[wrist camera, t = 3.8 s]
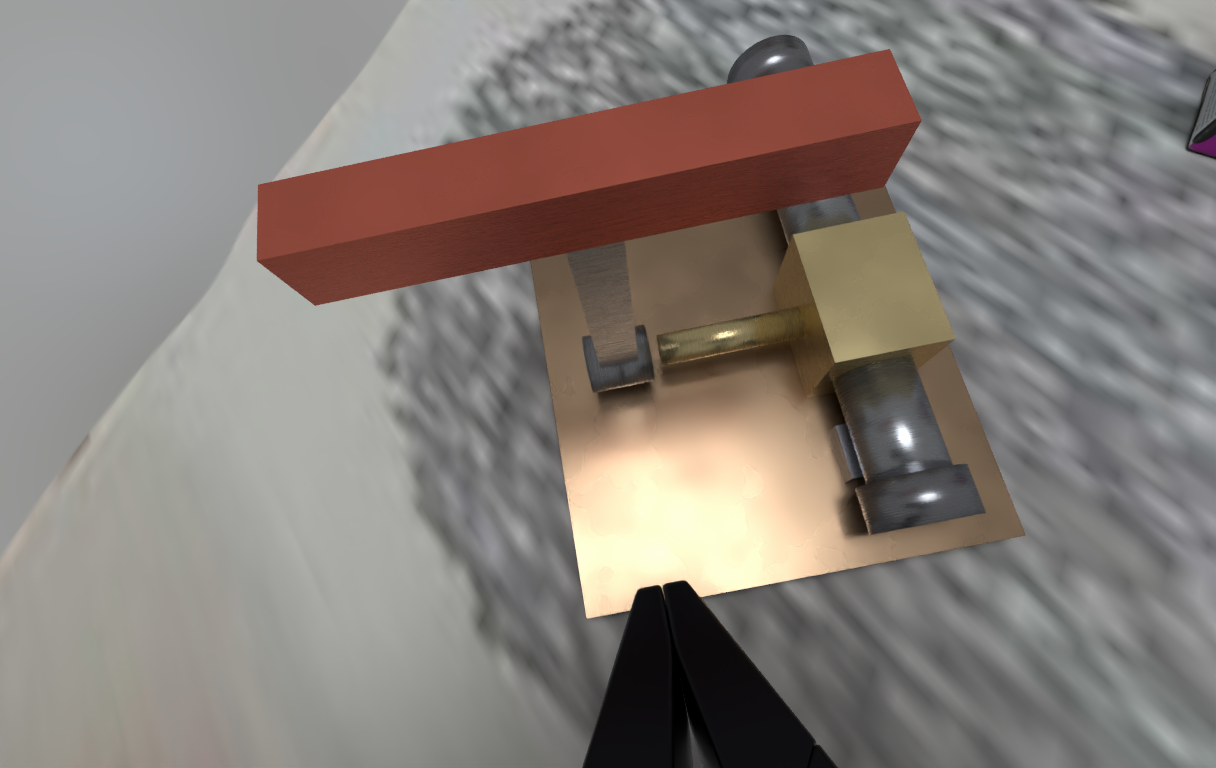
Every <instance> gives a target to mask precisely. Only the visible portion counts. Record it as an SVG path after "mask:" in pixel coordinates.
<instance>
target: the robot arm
mask: <svg viewBox="0 0 1216 768" xmlns="http://www.w3.org/2000/svg"><path fill="white" fill-rule="evenodd" d="M662 588H663V590H662ZM663 594H664V595H663ZM664 599H665V600H664ZM665 604H666V605H665ZM679 674H680V675H679ZM680 679H681V680H680ZM681 684H682V685H681ZM682 689H683V690H682ZM683 694H684V695H683ZM684 699H685V700H684ZM685 703H686V705H685ZM686 708H687V710H686ZM687 713H688V716H687ZM688 717H689V721H690V725H691V729H692V732H693V736H694V739H695V742H696V745H697V748H698V752H699V755H700V758H701V761H702V764H703V767H704V768H838V767H837V766H836V765H835V764H834V762H833V761H832V760H831V759H830V757H829V756H828V755H827V754H826V752H825V751H824V750H823V749H822V747H821V746H820V745H816V741H815V739H814V738H813V737H812V735H811V734H810V733H809V732H808V730H807V729H806V728H805V727H804V725H803V724H802V723H801V722H800V720H799V719H798V718H797V717H796V716H795V714H794V713H793V712H792V711H791V709H790V708H789V707H788V706H787V704H786V703H785V702H784V701H783V699H782V698H781V697H780V696H779V694H778V693H777V692H776V691H775V689H774V688H773V687H772V686H771V685H770V683H769V682H768V681H767V680H766V678H765V677H764V676H763V675H762V673H761V672H760V671H759V670H758V668H757V667H756V666H755V665H754V663H753V662H752V661H751V660H750V658H749V657H748V656H747V655H746V653H745V652H744V651H743V650H742V649H741V647H740V646H739V645H738V644H737V642H736V641H735V640H734V639H733V637H732V636H731V635H730V634H729V632H728V631H727V630H726V629H725V627H724V626H723V625H722V624H721V622H720V621H719V620H718V619H717V618H716V616H715V615H714V614H713V613H712V611H711V610H710V609H709V608H708V606H707V605H706V604H705V603H704V601H703V600H702V599H701V598H700V596H699V595H698V594H697V593H696V591H695V590H694V589H693V588H692V587H691V585H690V584H689V583H688V582H687V581H685V580H680V581H675V582H670V583H665V584H664V585H663V587H661V586H659V585H654V586H649V587H644V588H640V589H638V590H637V592H636V594H635V597H634V600H633V604H632V607H631V610H630V613H629V617H628V620H627V623H626V626H625V630H624V633H623V636H622V640H621V643H620V646H619V649H618V653H617V656H616V659H615V662H614V666H613V669H612V672H611V675H610V679H609V682H608V685H607V688H606V692H605V695H604V698H603V701H602V705H601V708H600V711H599V714H598V718H597V721H596V724H595V727H594V731H593V734H592V737H591V741H590V744H589V747H588V750H587V754H586V757H585V760H584V763H583V767H582V768H693V764H692V752H691V740H690V731H689V722H688Z"/></svg>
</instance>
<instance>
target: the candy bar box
mask: <svg viewBox="0 0 1216 768" xmlns="http://www.w3.org/2000/svg"><path fill="white" fill-rule="evenodd" d="M1189 148H1190V149H1192V150H1193V151H1195V152H1199V153H1202V154H1206V155H1209V156H1213V157H1216V70H1215V71H1214V72H1213V73H1212V74H1211V75H1210V77H1209V80H1208V82H1207V85H1206V88H1205V90H1204V94H1203V98H1202V104H1201V109H1200V112H1199V115H1198V118H1197V120H1196V123H1195V126H1194V129H1193V132H1192V136H1191V140H1190V143H1189Z"/></svg>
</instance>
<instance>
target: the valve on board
mask: <svg viewBox="0 0 1216 768" xmlns="http://www.w3.org/2000/svg"><path fill="white" fill-rule="evenodd" d="M809 66H814V64H813V62H812V59H811V57H810V54H809V51H808V49H807V46H806V45H805V43H804V42H803V41H802V40H801V39H799V38H797V37H795V36H791V35H778V36H773V37H769V38H766V39H764V40H762V41H760V42H758V43H756V44H754V45H753V46H751V47H750V48H748V49H747V50H746V51H745V52H744V53H743V54H742V55H741V56H740V57H739V58H738V59H737V60H736V61H735V63H734V64H733V66H732V68H731V70H730V72H729V75H728V79H727V84H730V83H734V82H739V81H744V80H748V79H753V78H758V77H762V76H767V75H772V74H776V73H781V72H786V71H790V70H795V69H800V68H804V67H809ZM625 248H626V256H627V265H628V274H629V282H630V291H631V300H632V308H633V317H634V326H638V325H643V324H644V326H645V329H646V333H647V337H648V341H649V346H650V351H651V356H652V361H653V367H654V373H655V381H651V382H646V383H641V384H636V385H631V386H626V387H621V388H616V389H611V390H606V391H601V392H596V393H593V391H592V388H591V384H590V380H589V376H588V371H587V366H586V361H585V356H584V350H583V344H582V337H584V336H589V335H591V334H590V331H589V328H588V324H587V321H586V318H585V314H584V311H583V308H582V304H581V301H580V298H579V295H578V291H577V288H576V285H575V281H574V278H573V275H572V271H571V268H570V265H569V262H568V258H567V255H566V253H565V254H560V255H556V256H551V257H546V258H541V259H536V260H532V261H531V267H532V273H533V280H534V286H535V292H536V299H537V305H538V312H539V318H540V324H541V331H542V337H543V343H544V350H545V356H546V363H547V369H548V375H549V382H550V388H551V394H552V401H553V407H554V414H555V420H556V426H557V433H558V439H559V445H560V452H561V458H562V465H563V471H564V477H565V484H566V490H567V496H568V503H569V509H570V516H571V522H572V528H573V535H574V541H575V547H576V554H577V560H578V567H579V573H580V579H581V586H582V592H583V598H584V605H585V611H586V618H587V619H588V618H593V617H598V616H603V615H609V614H614V613H619V612H624V611H630V610H631V607H632V604H633V600H634V597H635V594H636V592H637V590H638V589H640V588H644V587H649V586H654V585H659V586H661V587H663V585H664V584H665V583H670V582H675V581H680V580H685V581H687V582H688V583H689V584H690V585H691V587H692V588H693V589H694V590H695V591H696V593H697V594H698V595H699V596H700V597H704V596H709V595H714V594H719V593H725V592H730V591H735V590H740V589H746V588H751V587H756V586H762V585H767V584H772V583H777V582H783V581H788V580H793V579H798V578H804V577H809V576H814V575H820V574H825V573H830V572H835V571H841V570H846V569H851V568H856V567H862V566H867V565H872V564H877V563H883V562H888V561H893V560H899V559H904V558H909V557H914V556H920V555H925V554H930V553H935V552H941V551H946V550H951V549H957V548H962V547H967V546H972V545H978V544H983V543H988V542H993V541H999V540H1004V539H1009V538H1015V537H1020V536H1025V532H1024V530H1023V527H1022V525H1021V522H1020V520H1019V518H1018V515H1017V513H1016V510H1015V508H1014V505H1013V503H1012V500H1011V498H1010V495H1009V493H1008V490H1007V488H1006V485H1005V483H1004V480H1003V478H1002V475H1001V473H1000V470H999V468H998V465H997V463H996V460H995V458H994V455H993V453H992V450H991V448H990V445H989V443H988V440H987V438H986V435H985V433H984V430H983V428H982V425H981V423H980V420H979V418H978V416H977V413H976V411H975V408H974V406H973V403H972V401H971V398H970V396H969V393H968V391H967V388H966V386H965V383H964V381H963V378H962V376H961V373H960V371H959V368H958V366H957V363H956V361H955V358H954V356H953V353H952V351H951V348H950V346H949V344H950V343H951V342H952V341H954V340H955V339H956V338H955V335H954V333H953V330H952V328H951V325H950V323H949V321H948V318H947V316H946V313H945V311H944V308H943V306H942V303H941V301H940V298H939V296H938V294H937V291H936V289H935V286H934V284H933V281H932V279H931V276H930V274H929V271H928V269H927V267H926V264H925V262H924V259H923V257H922V254H921V252H920V249H919V247H918V244H917V242H916V240H915V237H914V235H913V232H912V230H911V227H910V225H909V222H908V220H907V218H906V215H905V213H904V212H899V213H896V212H895V209H894V207H893V204H892V202H891V199H890V197H889V194H888V192H887V189H886V187H885V186H884V187H882V188H878V189H873V190H868V191H863V192H858V193H854V194H849V195H844V196H839V197H834V198H829V199H825V200H820V201H815V202H810V203H805V204H801V205H796V206H791V207H786V208H781V209H777V210H772V211H767V212H762V213H757V214H753V215H748V216H743V217H738V218H733V219H729V220H724V221H719V222H714V223H709V224H705V225H700V226H695V227H690V228H685V229H681V230H676V231H671V232H666V233H661V234H657V235H652V236H647V237H642V238H637V239H633V240H628V241H625ZM662 590H663V588H662ZM663 595H664V594H663ZM664 600H665V599H664Z"/></svg>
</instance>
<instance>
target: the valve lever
mask: <svg viewBox="0 0 1216 768" xmlns="http://www.w3.org/2000/svg"><path fill="white" fill-rule="evenodd" d="M921 121H922V120H921V118H920V116H919V113H918V111H917V109H916V107H915V104H914V102H913V100H912V98H911V95H910V93H909V91H908V89H907V87H906V84H905V82H904V80H903V78H902V75H901V73H900V71H899V69H898V66H897V64H896V62H895V60H894V57H893V55H892V53H891V51H890V49H888V50H883V51H879V52H874V53H869V54H865V55H860V56H855V57H851V58H846V59H841V60H837V61H832V62H827V63H823V64H818V65H814V66H809V67H804V68H800V69H795V70H790V71H786V72H781V73H776V74H772V75H767V76H762V77H758V78H753V79H748V80H744V81H739V82H734V83H730V84H725V85H720V86H716V87H711V88H706V89H702V90H697V91H693V92H688V93H683V94H679V95H674V96H669V97H665V98H660V99H655V100H651V101H646V102H641V103H637V104H632V105H627V106H623V107H618V108H613V109H609V110H604V111H599V112H595V113H590V114H585V115H581V116H576V117H572V118H567V119H562V120H558V121H553V122H548V123H544V124H539V125H534V126H530V127H525V128H520V129H516V130H511V131H506V132H502V133H497V134H492V135H488V136H483V137H478V138H474V139H469V140H464V141H460V142H455V143H451V144H446V145H441V146H437V147H432V148H427V149H423V150H418V151H413V152H409V153H404V154H399V155H395V156H390V157H385V158H381V159H376V160H371V161H367V162H362V163H357V164H353V165H348V166H343V167H339V168H334V169H329V170H325V171H320V172H316V173H311V174H306V175H302V176H297V177H292V178H288V179H283V180H278V181H274V182H269V183H264V184H260V185H258V222H257V261H258V262H259V263H260V264H262V265H263V266H264V267H266V268H267V269H268V270H269V271H271V272H272V273H273V274H275V275H276V276H277V277H279V278H280V279H281V280H282V281H284V282H285V283H286V284H288V285H289V286H290V287H291V288H293V289H294V290H295V291H297V292H298V293H299V294H301V295H302V296H303V297H304V298H306V299H307V300H308V301H310V302H311V303H312V304H314V305H320V304H325V303H330V302H335V301H339V300H344V299H349V298H354V297H359V296H363V295H368V294H373V293H378V292H383V291H387V290H392V289H397V288H402V287H407V286H412V285H416V284H421V283H426V282H431V281H436V280H440V279H445V278H450V277H455V276H460V275H464V274H469V273H474V272H479V271H484V270H488V269H493V268H498V267H503V266H508V265H512V264H517V263H522V262H527V261H532V260H536V259H541V258H546V257H551V256H556V255H560V254H565V253H566V255H567V258H568V262H569V265H570V268H571V271H572V275H573V278H574V281H575V285H576V288H577V291H578V295H579V298H580V301H581V304H582V308H583V311H584V314H585V318H586V321H587V324H588V328H589V331H590V334H591V335H589V336H584V337H582V344H583V350H584V356H585V361H586V366H587V371H588V376H589V380H590V384H591V388H592V391H593V393H596V392H601V391H606V390H611V389H616V388H621V387H626V386H631V385H636V384H641V383H646V382H651V381H655V373H654V367H653V361H652V356H651V351H650V346H649V341H648V337H647V333H646V329H645V326H644V324H643V325H638V326H634V317H633V308H632V300H631V291H630V282H629V274H628V265H627V256H626V248H625V241H628V240H633V239H637V238H642V237H647V236H652V235H657V234H661V233H666V232H671V231H676V230H681V229H685V228H690V227H695V226H700V225H705V224H709V223H714V222H719V221H724V220H729V219H733V218H738V217H743V216H748V215H753V214H757V213H762V212H767V211H772V210H777V209H781V208H786V207H791V206H796V205H801V204H805V203H810V202H815V201H820V200H825V199H829V198H834V197H839V196H844V195H849V194H854V193H858V192H863V191H868V190H873V189H878V188H882V187H884V186H885V184H886V182H887V180H888V179H889V177H890V175H891V173H892V172H893V170H894V168H895V166H896V165H897V163H898V161H899V159H900V158H901V156H902V154H903V152H904V151H905V149H906V147H907V145H908V144H909V142H910V140H911V138H912V137H913V135H914V133H915V131H916V129H917V128H918V126H919V124H920V122H921Z"/></svg>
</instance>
